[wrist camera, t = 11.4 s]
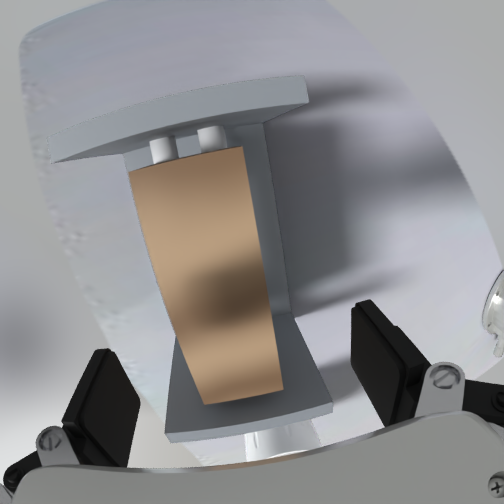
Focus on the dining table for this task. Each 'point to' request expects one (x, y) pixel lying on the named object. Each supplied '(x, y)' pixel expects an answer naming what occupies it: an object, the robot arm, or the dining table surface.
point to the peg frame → (264, 204)
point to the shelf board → (210, 270)
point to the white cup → (281, 441)
